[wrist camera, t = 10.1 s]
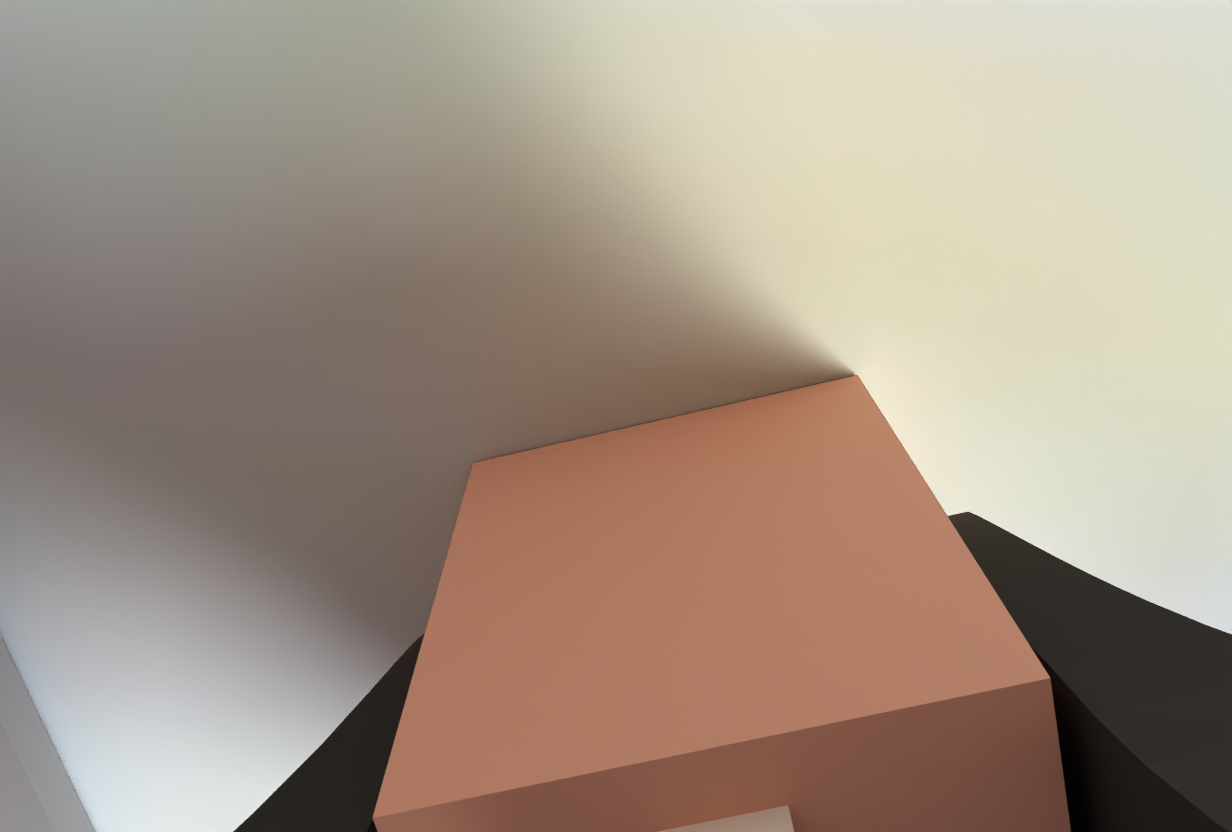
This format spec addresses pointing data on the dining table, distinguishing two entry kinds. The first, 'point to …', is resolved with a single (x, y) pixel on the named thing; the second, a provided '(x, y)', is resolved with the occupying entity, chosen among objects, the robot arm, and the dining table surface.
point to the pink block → (721, 642)
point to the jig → (31, 765)
